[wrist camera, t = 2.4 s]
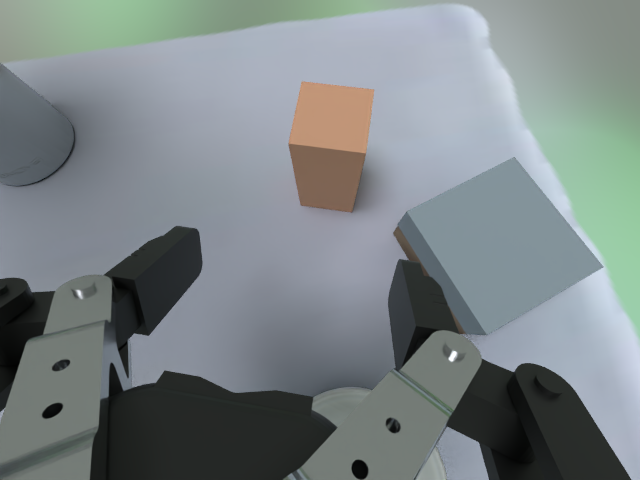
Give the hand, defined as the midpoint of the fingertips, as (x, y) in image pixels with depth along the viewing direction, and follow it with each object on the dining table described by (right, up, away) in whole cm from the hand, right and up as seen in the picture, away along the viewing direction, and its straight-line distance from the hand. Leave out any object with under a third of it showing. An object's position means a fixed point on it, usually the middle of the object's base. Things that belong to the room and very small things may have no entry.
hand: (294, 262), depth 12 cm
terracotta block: (+2, +6, +17) cm, 18 cm away
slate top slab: (+14, 0, +13) cm, 19 cm away
